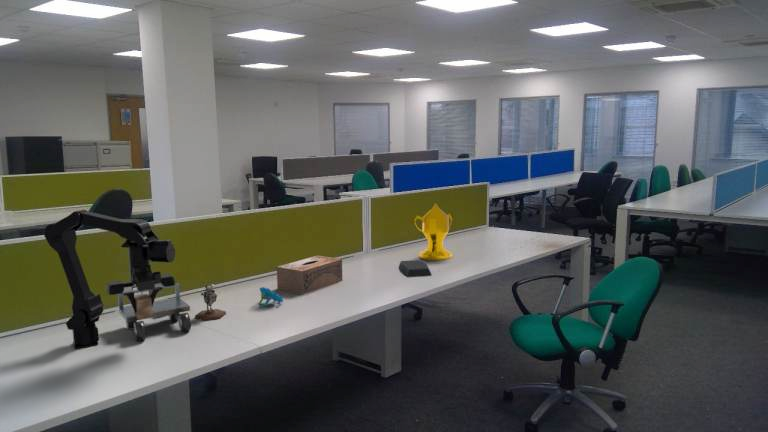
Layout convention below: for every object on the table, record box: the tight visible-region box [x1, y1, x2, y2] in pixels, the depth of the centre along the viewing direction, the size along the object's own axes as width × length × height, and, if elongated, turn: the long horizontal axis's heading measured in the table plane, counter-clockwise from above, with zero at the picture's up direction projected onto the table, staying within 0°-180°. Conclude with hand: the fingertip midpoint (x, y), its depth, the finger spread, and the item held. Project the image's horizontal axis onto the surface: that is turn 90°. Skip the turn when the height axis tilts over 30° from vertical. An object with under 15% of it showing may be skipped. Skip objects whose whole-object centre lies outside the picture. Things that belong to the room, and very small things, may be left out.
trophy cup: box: [413, 203, 453, 261], centre depth 296 cm, size 18×24×28 cm
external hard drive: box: [398, 259, 433, 278], centre depth 267 cm, size 13×19×4 cm
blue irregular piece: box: [258, 286, 284, 307], centre depth 216 cm, size 11×6×10 cm
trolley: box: [117, 283, 192, 342], centre depth 190 cm, size 20×20×12 cm
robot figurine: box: [194, 283, 227, 322], centre depth 204 cm, size 11×9×12 cm
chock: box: [134, 293, 152, 320], centre depth 174 cm, size 4×6×6 cm, turn 35°
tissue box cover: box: [276, 255, 343, 295], centre depth 244 cm, size 26×14×10 cm, turn 145°
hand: (142, 310), depth 174 cm, fingers closed on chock, 4 cm apart
